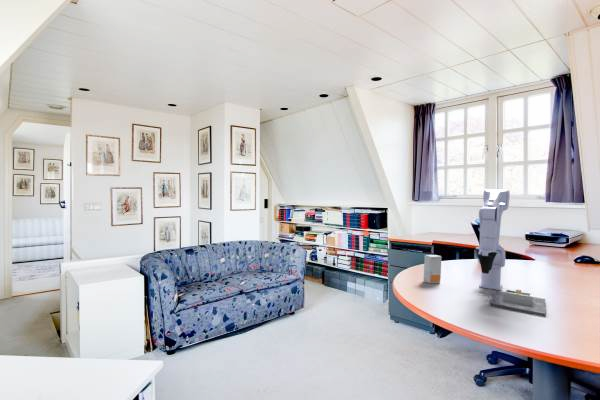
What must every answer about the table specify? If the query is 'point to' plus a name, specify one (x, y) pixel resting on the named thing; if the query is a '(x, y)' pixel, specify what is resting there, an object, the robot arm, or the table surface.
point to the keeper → (519, 304)
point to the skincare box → (432, 268)
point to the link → (518, 297)
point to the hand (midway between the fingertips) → (486, 271)
